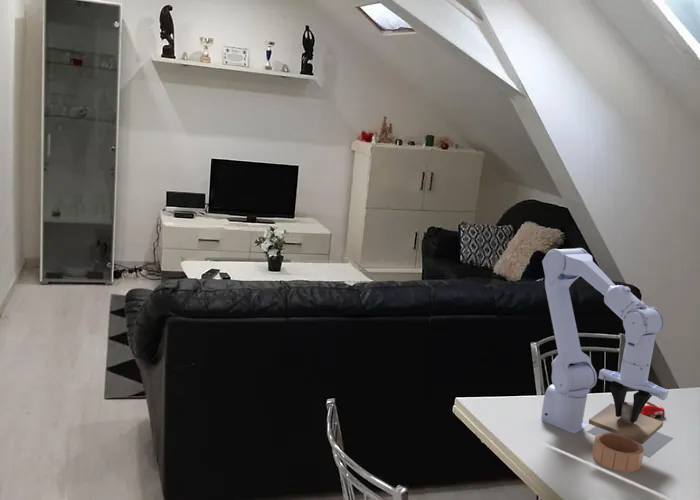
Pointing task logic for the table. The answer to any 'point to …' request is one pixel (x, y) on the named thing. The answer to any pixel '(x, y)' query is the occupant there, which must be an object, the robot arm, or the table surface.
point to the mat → (649, 446)
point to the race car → (653, 410)
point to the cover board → (626, 423)
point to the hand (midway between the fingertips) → (626, 418)
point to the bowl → (617, 452)
